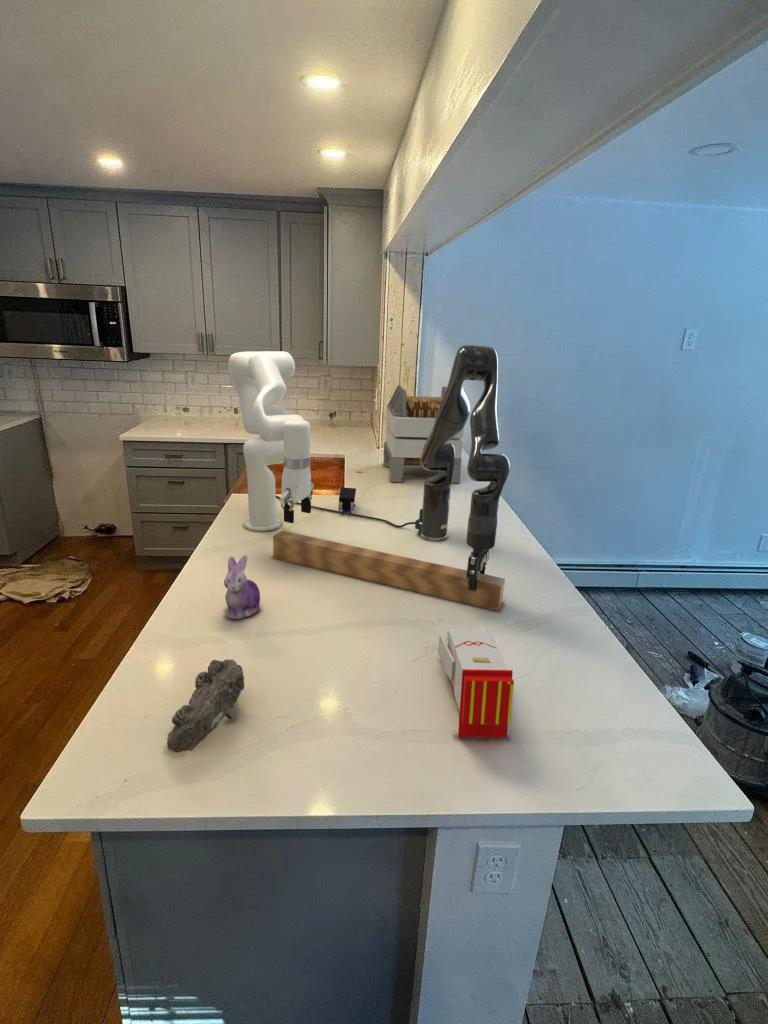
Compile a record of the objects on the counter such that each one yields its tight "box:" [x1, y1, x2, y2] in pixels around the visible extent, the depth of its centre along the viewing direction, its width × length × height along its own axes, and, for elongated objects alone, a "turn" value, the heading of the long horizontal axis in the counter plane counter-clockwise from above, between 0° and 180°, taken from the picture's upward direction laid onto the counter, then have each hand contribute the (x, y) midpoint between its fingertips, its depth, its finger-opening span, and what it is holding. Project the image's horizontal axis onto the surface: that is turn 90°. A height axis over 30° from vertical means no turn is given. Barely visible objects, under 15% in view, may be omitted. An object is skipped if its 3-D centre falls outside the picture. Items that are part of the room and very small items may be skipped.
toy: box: [437, 628, 515, 738], centre depth 117 cm, size 12×13×30 cm
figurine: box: [223, 554, 261, 620], centre depth 143 cm, size 9×10×15 cm
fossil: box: [166, 658, 245, 754], centre depth 106 cm, size 22×10×15 cm
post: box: [272, 530, 506, 612], centre depth 165 cm, size 71×5×8 cm, turn 67°
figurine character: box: [337, 486, 357, 516], centre depth 219 cm, size 7×8×15 cm
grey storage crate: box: [383, 384, 465, 484], centre depth 268 cm, size 34×33×41 cm
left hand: (297, 517), depth 171 cm, fingers open, 9 cm apart
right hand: (476, 584), depth 154 cm, fingers open, 8 cm apart
